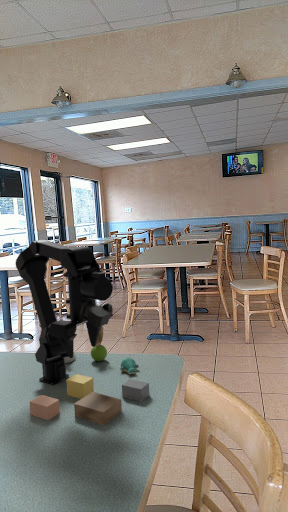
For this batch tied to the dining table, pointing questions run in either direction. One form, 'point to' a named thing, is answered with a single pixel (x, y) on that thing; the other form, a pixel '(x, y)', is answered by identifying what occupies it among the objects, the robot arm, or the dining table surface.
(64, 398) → the dining table surface
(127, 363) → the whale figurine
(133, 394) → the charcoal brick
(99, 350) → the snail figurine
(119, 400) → the walnut block
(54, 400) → the terracotta brick
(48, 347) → the robot arm
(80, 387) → the mustard brick
